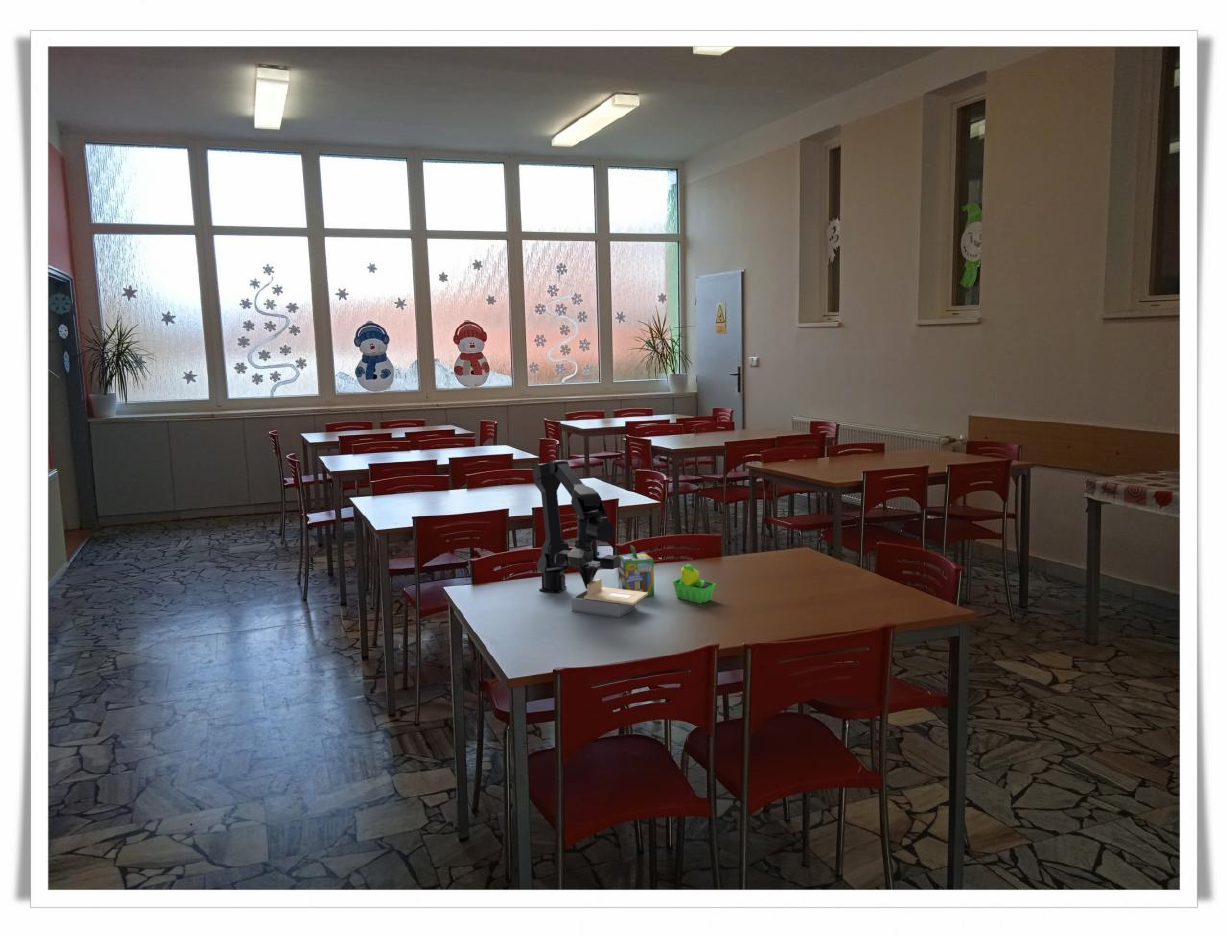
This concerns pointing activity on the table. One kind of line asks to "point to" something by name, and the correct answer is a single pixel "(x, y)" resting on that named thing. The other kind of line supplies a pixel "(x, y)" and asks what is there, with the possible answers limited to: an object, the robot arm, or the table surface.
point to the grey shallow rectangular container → (599, 606)
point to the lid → (612, 594)
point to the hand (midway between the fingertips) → (587, 588)
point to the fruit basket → (693, 586)
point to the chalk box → (636, 572)
